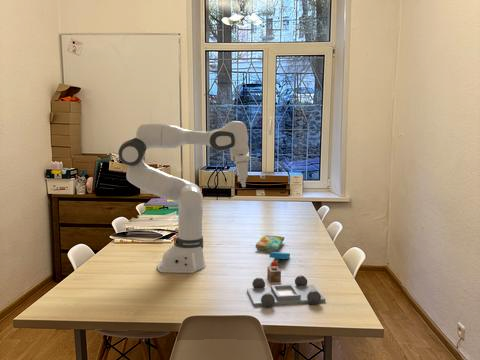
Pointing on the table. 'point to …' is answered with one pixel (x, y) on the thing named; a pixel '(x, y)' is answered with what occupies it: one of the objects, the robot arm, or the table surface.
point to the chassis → (284, 293)
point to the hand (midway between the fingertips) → (242, 185)
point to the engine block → (274, 274)
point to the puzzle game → (269, 243)
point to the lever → (278, 257)
